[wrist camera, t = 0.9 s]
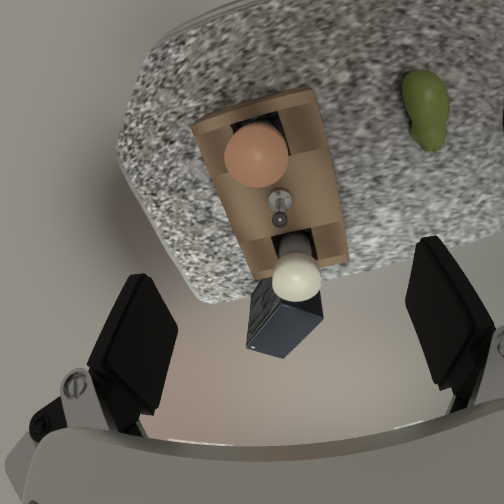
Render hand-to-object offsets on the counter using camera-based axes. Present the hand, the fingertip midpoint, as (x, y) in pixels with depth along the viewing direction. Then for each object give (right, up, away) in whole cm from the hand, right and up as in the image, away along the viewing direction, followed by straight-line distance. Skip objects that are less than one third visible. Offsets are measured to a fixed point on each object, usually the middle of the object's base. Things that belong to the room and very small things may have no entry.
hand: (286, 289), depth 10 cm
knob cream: (+4, +3, +24) cm, 25 cm away
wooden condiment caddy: (+2, +10, +24) cm, 26 cm away
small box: (+4, -3, +34) cm, 35 cm away
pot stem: (+2, +7, +19) cm, 21 cm away
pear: (+19, +18, +17) cm, 31 cm away
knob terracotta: (0, +13, +17) cm, 21 cm away
